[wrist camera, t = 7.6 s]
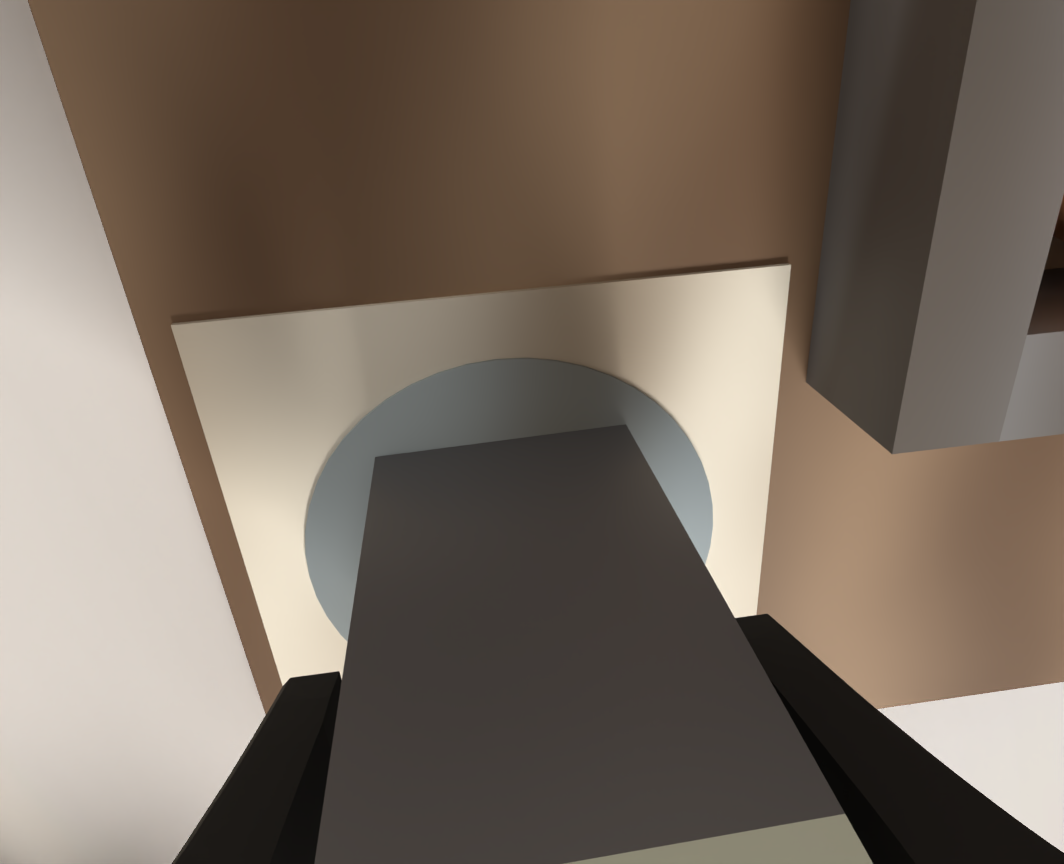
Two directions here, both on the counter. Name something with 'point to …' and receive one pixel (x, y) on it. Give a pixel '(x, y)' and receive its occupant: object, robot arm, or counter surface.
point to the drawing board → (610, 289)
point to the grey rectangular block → (556, 678)
